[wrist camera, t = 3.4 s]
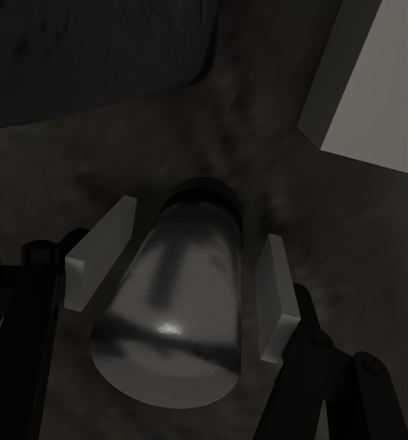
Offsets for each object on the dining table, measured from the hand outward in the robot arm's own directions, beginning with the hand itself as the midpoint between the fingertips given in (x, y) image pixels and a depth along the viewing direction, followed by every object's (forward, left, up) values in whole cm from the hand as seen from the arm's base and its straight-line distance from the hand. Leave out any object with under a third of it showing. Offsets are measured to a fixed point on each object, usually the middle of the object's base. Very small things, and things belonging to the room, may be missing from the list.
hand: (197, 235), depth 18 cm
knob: (0, 0, -3) cm, 3 cm away
